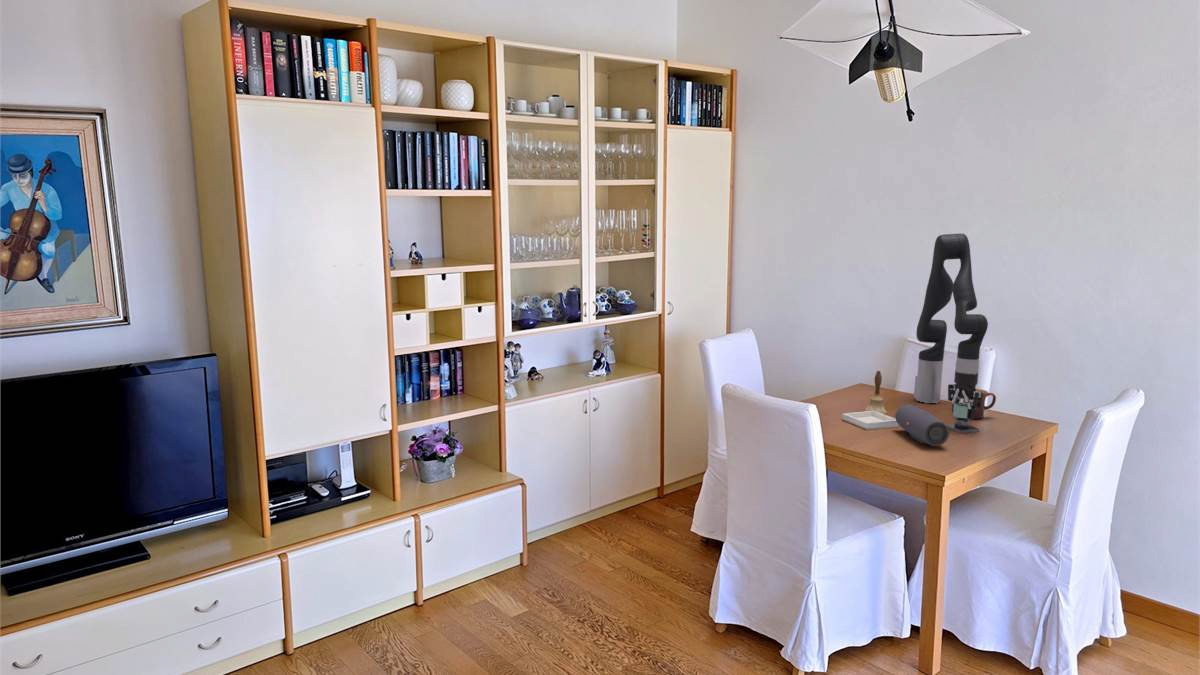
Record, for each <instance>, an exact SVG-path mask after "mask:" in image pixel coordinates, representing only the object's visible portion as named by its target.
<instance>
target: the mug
mask: <svg viewBox="0 0 1200 675" xmlns="http://www.w3.org/2000/svg"><path fill="white" fill-rule="evenodd" d="M976 391H978V392H982V393H983V396H982V401H981V407H980V408H977V409H975V413H974V418H973V419H972V420H980V419H979V418H981V419H982V418H984V416H985V410H989V409H991V408H993V407H994V405H995V404H996V402H997V401H996V400H997V397H996V394H995V393H992V392H988V390H985V389H981V388H976ZM989 396H992V400H991V403H990V404H989V405H986V406H985V402H986V398H987V397H989ZM969 400H971V399H969ZM962 403H966V402H965V400H964V399H962ZM971 404H972V403H971Z"/></svg>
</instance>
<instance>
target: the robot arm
mask: <svg viewBox="0 0 1200 675" xmlns="http://www.w3.org/2000/svg"><path fill="white" fill-rule="evenodd" d="M970 246H971V245H970V242H969V238H968V236H967V235H966V234H965V233H948V234H939V235H938V236H937V237H936V238H935V242H934V246H933V255H932V262H931V270H930V274H929V278H928V282H927V285H926V286H927V287H926V291H925V296H924V302H923V306H922V309H921V310H922V311H921V313H920V315H919V316H920V317H919V320H918V322H917V326H916V331H915V332H916V334H915V335H916V339H917V341H919V343H920V342H921V343H927V344H928V343H929V344H934V345H932V346H931V347H929V348H926V349H924V350H920V351H919V353H918V362H917V363H918V364H917V375H916V376H915V378H914V381H915V382H914V389H913V390H914V391H913V399H914V398H915V399H916V400H917V401H916V400H915V399H914V400H915V401H916V402H918V401H920V402H919V403H921V402H924V403H923V404H929V403H934V402H939V401H941V392H942V378H943V371H944V370H943V367H944V356H945V349H946V340H947V332H948V324H947V321H945V320H944V319H933V317H934V316H935V315H936V314H938V313H939V312H940V311H942V309H944V308H945V307H947V305H948V304H949V303H950V301H951V299H952V296H953V299H954V304H955V313H954V314H955V316H954V321H953V322H954V324H953V325H954V329H955V331H956V332H957V333H958V334H960V335H971V336H970V337H969V338H967V339H966V340H961V341H960V342H959V341H958V346H957V353H956V355H957V356H956V360H955V361H956V362H955V367H954V368H955V370H954V380H953V382H954V383H951V384H947V385H948V386H947V400H948V401H949V402H951V405H952V408H951V413H952V415H953V408H954V403H959V402H961V400H965V402H966V403H967V405H968V408H969V409H968V414H967V419H969V420H970V421H971V420H974V419H973V418H974V413H975V409H977V408H980V407H981V401H982V396H983V393H982V392H978V391H976V389H977V388H976V386H977V385H978V382H979V371H980V353H981V352H980V350H981V346H982V343H983V340H984V338H985V335H986V333H987V331H988V328H989V326H988V325H989V322H988V319H987V317H986V316H985V315H984V314H980V313H978V314H977V313H974V314H972V313H971V314H970V313H968V312H970V311H973V310H975V309H976V308H977V307H978V300H977V296H976V292H975V287H974V283H973V271H972V259H971V258H972V257H971V256H972V255H971V247H970ZM948 260H959V261H960V266H959V271H958V273H957V275H956V277H955V279H954V281H953V279H952V278H951V276H950V274H949V272H947V270H946V268H945V261H948ZM969 399H971V400H969ZM939 403H940V402H939ZM971 403H972V406H971Z"/></svg>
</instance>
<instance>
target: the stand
mask: <svg viewBox="0 0 1200 675" xmlns="http://www.w3.org/2000/svg"><path fill="white" fill-rule="evenodd" d="M970 421H971V420H969V419H967V418H958V417H955V416H954V423H951V424H950V423H947V424H945V425H946V426H947V428H948V430H949V431H953V432H956V433H958V434H968V433H970V434H971V433H978V432H980V428H978V427H975V426H972V425H970V423H971V422H970Z"/></svg>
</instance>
